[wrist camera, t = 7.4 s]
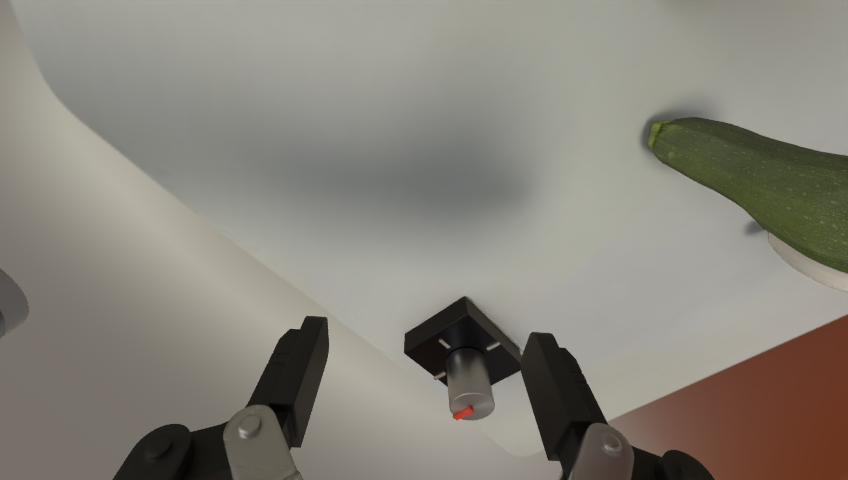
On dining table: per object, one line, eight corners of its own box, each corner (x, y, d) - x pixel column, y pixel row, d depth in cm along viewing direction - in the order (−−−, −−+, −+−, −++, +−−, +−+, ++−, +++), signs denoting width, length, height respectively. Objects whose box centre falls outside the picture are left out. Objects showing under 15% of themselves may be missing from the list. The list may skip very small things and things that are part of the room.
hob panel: (404, 334, 35) (402, 354, 33) (465, 295, 33) (468, 314, 30) (461, 380, 39) (463, 401, 37) (520, 348, 36) (526, 369, 34)
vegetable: (702, 113, 24) (1414, 279, 7) (674, 170, 26) (1158, 406, 9) (644, 106, 24) (1230, 263, 7) (620, 165, 26) (1013, 397, 9)
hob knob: (470, 341, 32) (478, 390, 28) (493, 362, 34) (504, 412, 29) (438, 359, 33) (440, 408, 29) (461, 379, 35) (467, 429, 30)
